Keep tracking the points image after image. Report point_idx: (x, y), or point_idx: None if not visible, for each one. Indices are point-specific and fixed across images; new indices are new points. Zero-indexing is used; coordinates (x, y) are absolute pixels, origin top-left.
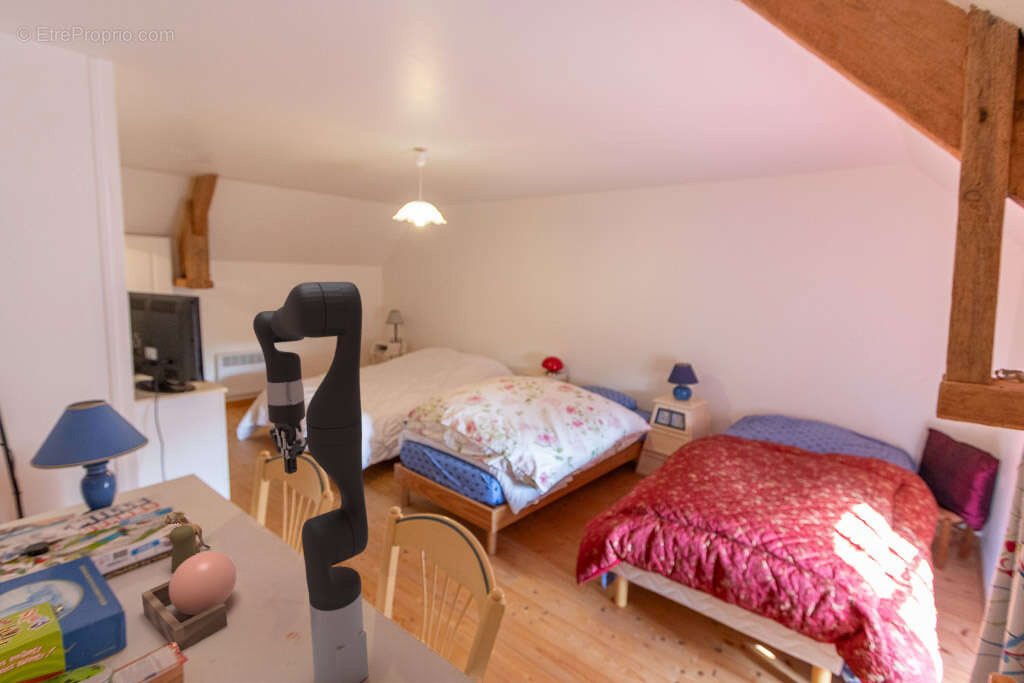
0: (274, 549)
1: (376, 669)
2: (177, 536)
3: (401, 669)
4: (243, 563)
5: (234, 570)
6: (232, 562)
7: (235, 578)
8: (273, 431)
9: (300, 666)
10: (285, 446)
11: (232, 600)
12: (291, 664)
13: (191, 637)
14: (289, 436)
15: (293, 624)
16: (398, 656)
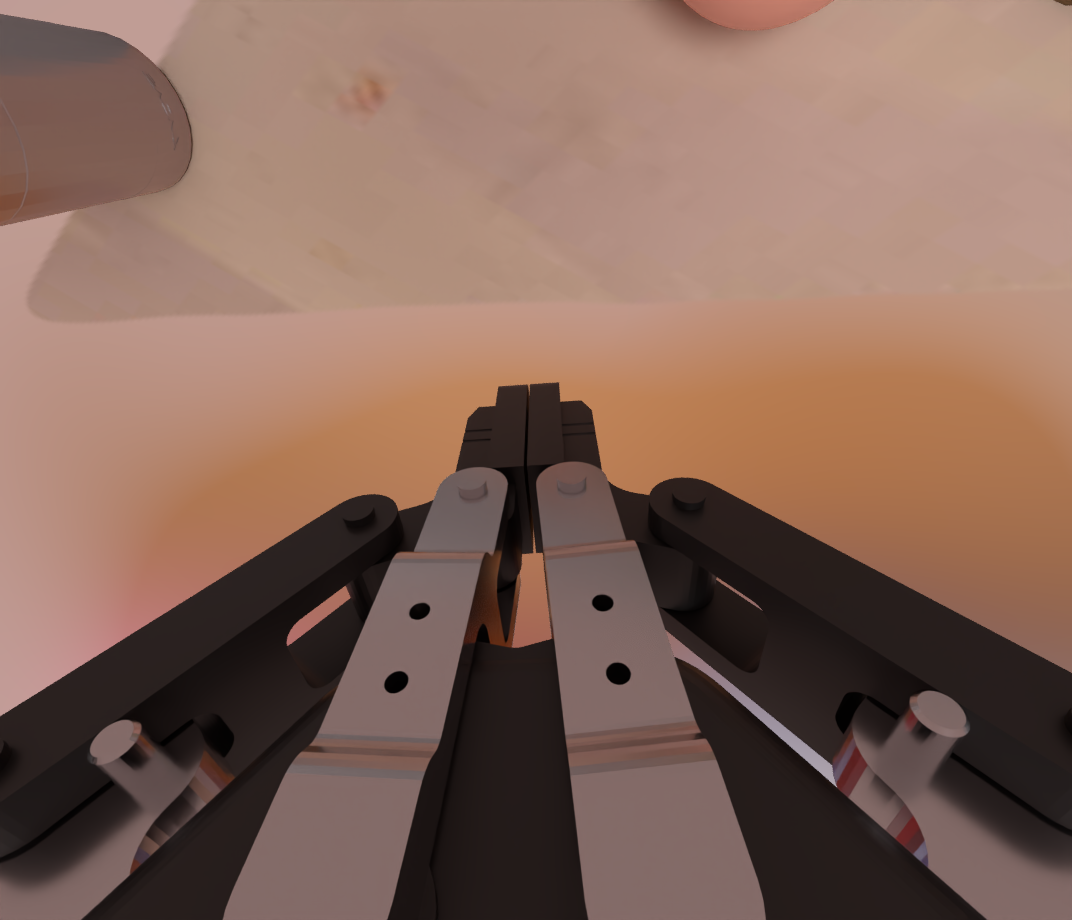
0: (834, 269)
1: None
2: None
3: (73, 248)
4: (868, 148)
5: (709, 2)
6: (754, 8)
7: (692, 5)
8: (1031, 775)
9: (216, 41)
10: (383, 594)
11: None
12: (239, 22)
13: None
14: (241, 843)
15: (414, 122)
16: (122, 268)
